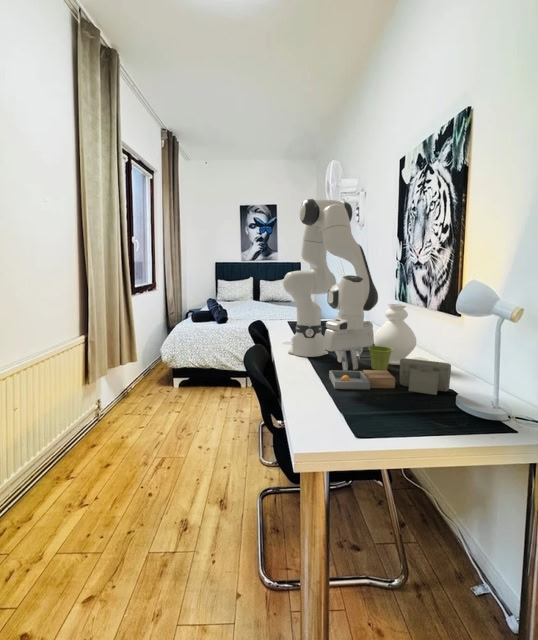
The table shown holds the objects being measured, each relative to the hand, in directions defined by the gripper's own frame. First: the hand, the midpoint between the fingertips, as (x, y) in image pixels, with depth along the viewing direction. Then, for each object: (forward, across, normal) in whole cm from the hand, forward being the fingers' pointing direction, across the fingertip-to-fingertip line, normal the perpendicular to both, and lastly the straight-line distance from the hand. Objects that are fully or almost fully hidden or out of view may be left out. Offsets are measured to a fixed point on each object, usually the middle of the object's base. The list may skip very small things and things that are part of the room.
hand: (348, 360), depth 136 cm
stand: (+8, -9, +6) cm, 14 cm away
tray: (+8, 0, +1) cm, 8 cm away
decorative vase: (+9, -39, -15) cm, 43 cm away
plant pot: (+9, -23, -8) cm, 26 cm away
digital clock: (+8, -18, +18) cm, 27 cm away
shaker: (+3, 0, +1) cm, 3 cm away
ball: (+6, +2, +1) cm, 7 cm away
